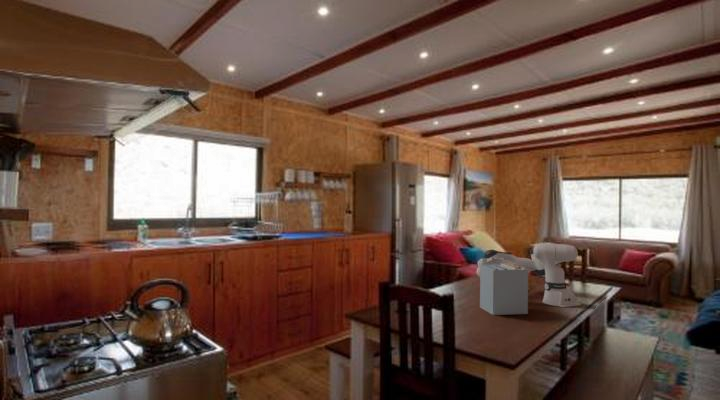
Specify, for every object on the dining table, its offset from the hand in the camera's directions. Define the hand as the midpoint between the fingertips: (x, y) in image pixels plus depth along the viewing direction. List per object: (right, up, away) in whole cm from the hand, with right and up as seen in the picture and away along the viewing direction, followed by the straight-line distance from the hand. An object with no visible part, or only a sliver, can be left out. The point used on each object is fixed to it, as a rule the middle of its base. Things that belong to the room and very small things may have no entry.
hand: (499, 258), depth 243 cm
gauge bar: (+2, -3, -9) cm, 10 cm away
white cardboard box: (-4, -29, -16) cm, 33 cm away
